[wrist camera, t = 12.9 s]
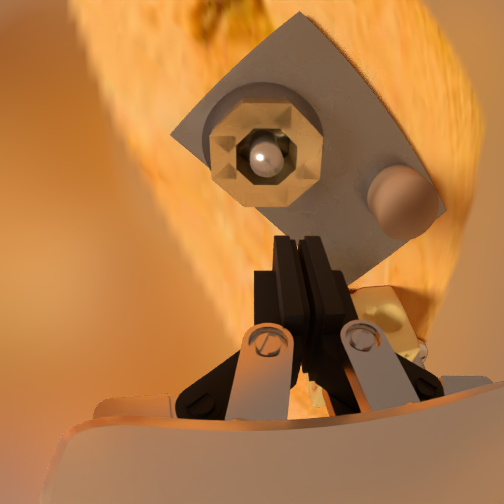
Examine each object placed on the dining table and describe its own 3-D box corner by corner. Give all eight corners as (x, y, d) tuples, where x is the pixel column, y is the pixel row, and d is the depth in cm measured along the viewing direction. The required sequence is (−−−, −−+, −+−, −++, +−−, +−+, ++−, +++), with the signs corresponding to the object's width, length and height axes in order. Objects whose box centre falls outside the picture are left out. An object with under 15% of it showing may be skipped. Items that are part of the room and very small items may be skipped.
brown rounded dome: (427, 192, 26) (448, 212, 23) (383, 227, 29) (398, 252, 25) (399, 147, 24) (421, 163, 20) (350, 187, 26) (365, 208, 23)
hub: (337, 137, 24) (367, 166, 18) (260, 203, 27) (264, 249, 21) (262, 58, 20) (268, 56, 14) (184, 136, 23) (161, 165, 18)
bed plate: (441, 204, 27) (446, 210, 26) (341, 281, 33) (343, 288, 32) (297, 13, 17) (299, 11, 16) (173, 131, 23) (169, 134, 22)
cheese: (310, 285, 33) (326, 360, 25) (396, 282, 33) (428, 347, 25) (300, 343, 39) (309, 409, 31) (374, 337, 39) (393, 398, 31)
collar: (313, 98, 19) (325, 105, 16) (308, 186, 23) (316, 207, 20) (213, 97, 19) (207, 104, 16) (218, 186, 23) (213, 207, 20)
